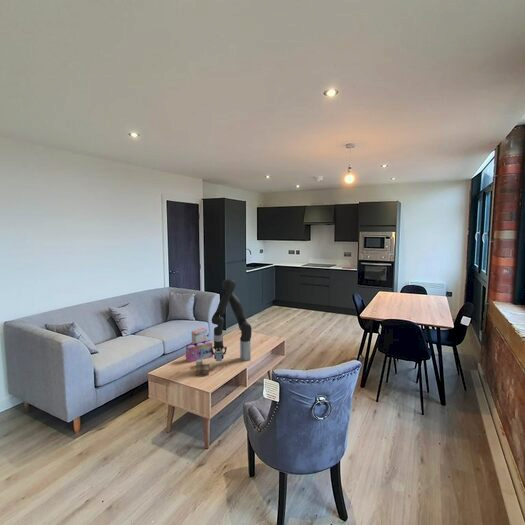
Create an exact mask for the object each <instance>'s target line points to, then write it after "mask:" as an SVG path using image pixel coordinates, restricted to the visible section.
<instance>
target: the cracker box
mask: <svg viewBox="0 0 525 525" xmlns="http://www.w3.org/2000/svg"><path fill="white" fill-rule="evenodd" d="M207 330H208V329H207V328H204V327H201V328H198V329H196V330H193V331H191V344H193V343H198V342H203V341H207V340H208V331H207Z"/></svg>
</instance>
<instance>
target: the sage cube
mask: <svg viewBox="0 0 525 525" xmlns="http://www.w3.org/2000/svg"><path fill="white" fill-rule="evenodd" d="M195 362H196V364H195V365H196V367H197V365H203V364H204V362H203V359H199V360H196V361H195Z"/></svg>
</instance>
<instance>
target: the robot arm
mask: <svg viewBox="0 0 525 525" xmlns="http://www.w3.org/2000/svg"><path fill="white" fill-rule="evenodd" d="M221 287H222V289H223V291H224V294H223V296H222V298H221V299H220V300H219V302H218V305H217V307H216V311H215V312H214V313H213V315H212V317H211V323H212V325H217V326H215V327H214V328H213V347H211V348H210V349H211V353H212V355H213V358H214V360H215V361H216V352H221V353H222V360H223V359H224V357H225V356H224V355H226V353H227V350H228V347H227V346H225V345H224V336H223V335H224V334H223V327H224V324H225V319H224V317H222V316H221V315H225V313H226V310H227V306H228V303H229V304H230V307H231V311H232V312H233V315H234V317H235V318H236V322H237V325H238V328H239V330H240V331H241V333H240V338H239V357H240V358H239V359H240V360H241V361H250V360H251V357H252V356H251V354H252V353H251V352H252V351H251V349H252V348H251V338H252V325H251V324H249V322H248V321H247V319H246V317H245V314H244V313H245V312H244V307H243V304H242V302H241V300H240V298H238V296H237V295H236V294H235V292H234V291H235V288H236V281H235V280H234V279H223V281H222V283H221ZM223 350H224V351H223Z"/></svg>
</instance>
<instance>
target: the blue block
mask: <svg viewBox="0 0 525 525" xmlns="http://www.w3.org/2000/svg"><path fill="white" fill-rule="evenodd" d="M222 361H223V359H222V353H221V352H219V351H218V352H216V360H215V362H222Z"/></svg>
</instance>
